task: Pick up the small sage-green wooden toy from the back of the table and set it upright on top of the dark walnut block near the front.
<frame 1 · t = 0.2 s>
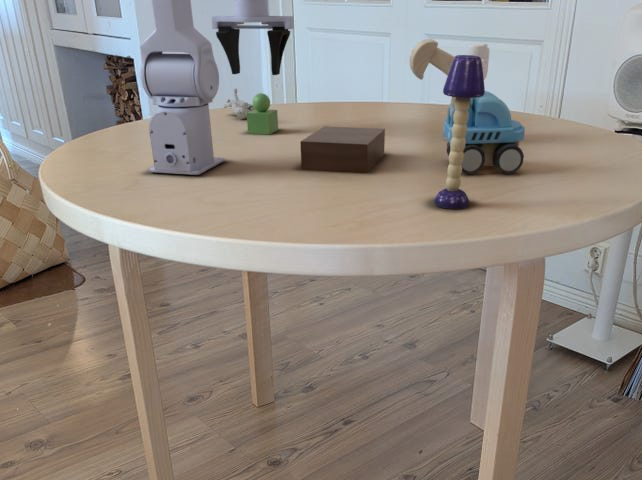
hand: (255, 74, 118), 10 cm above the table, tool pointing down, fingers open, 7 cm apart
grey lumpy piece: (243, 119, 135), on the table
green toy: (263, 131, 123), on the table
figurine: (470, 139, 116), on the table
walnut block: (344, 161, 101), on the table
toy excavator: (462, 169, 97), on the table
toy lamp: (453, 206, 81), on the table
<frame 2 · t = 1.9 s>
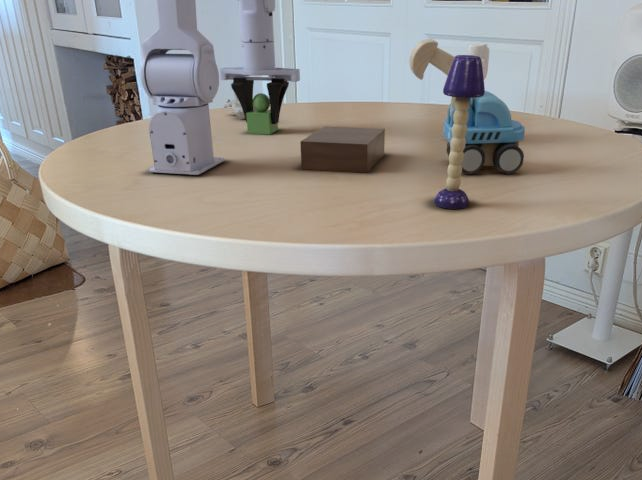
hand: (262, 122, 122), 2 cm above the table, tool pointing down, fingers closed on green toy, 4 cm apart
green toy: (263, 131, 123), on the table, touching gripper
everything else where it was.
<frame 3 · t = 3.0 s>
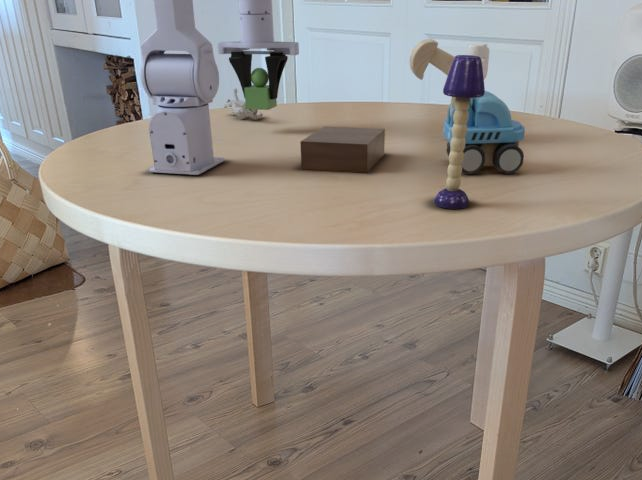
hand: (261, 98, 120), 6 cm above the table, tool pointing down, fingers closed on green toy, 4 cm apart
green toy: (261, 107, 121), point 4 cm above the table, touching gripper
everything else where it was.
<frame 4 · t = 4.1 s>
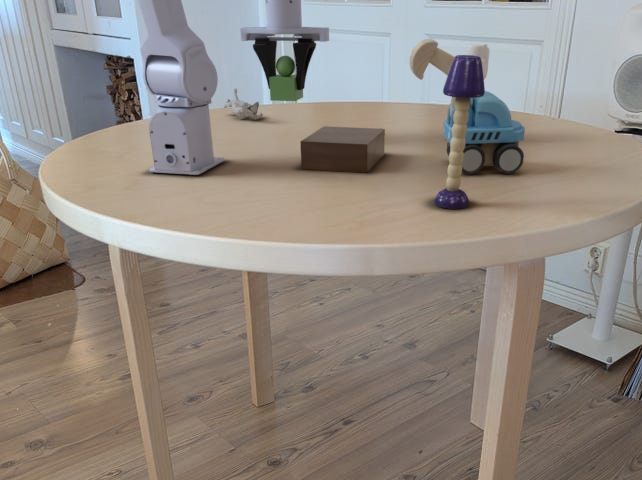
hand: (286, 88, 111), 9 cm above the table, tool pointing down, fingers closed on green toy, 4 cm apart
green toy: (287, 99, 112), point 7 cm above the table, touching gripper
everything else where it was.
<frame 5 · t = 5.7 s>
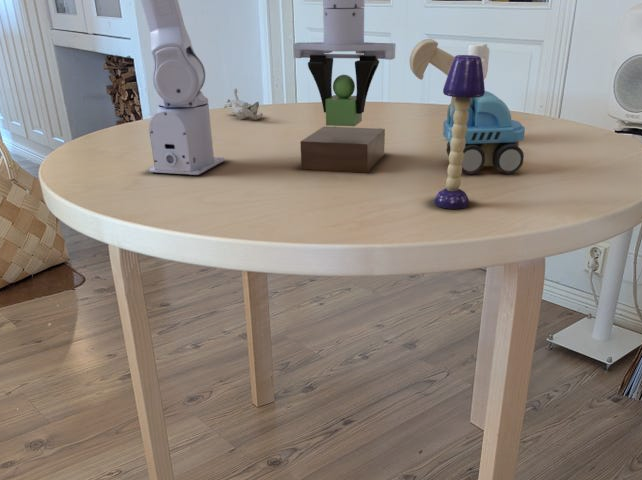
hand: (344, 112, 98), 7 cm above the table, tool pointing down, fingers closed on green toy, 4 cm apart
green toy: (344, 123, 99), point 6 cm above the table, touching gripper
everything else where it was.
when the fingers open (6 cm above the table, at t = 6.7 s): green toy stays where it is, resting on walnut block.
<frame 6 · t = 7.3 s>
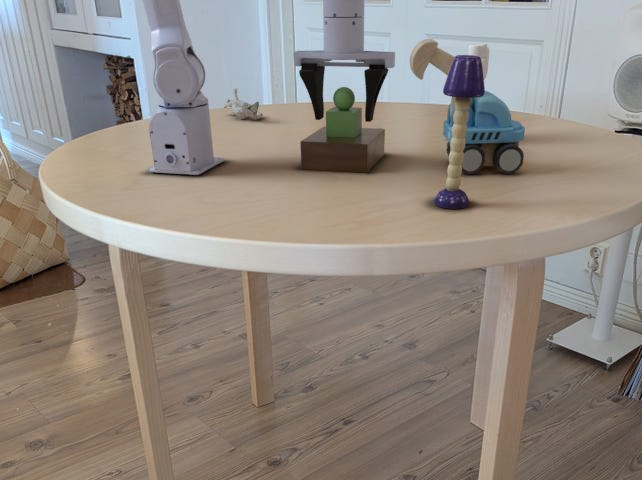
hand: (344, 119, 98), 6 cm above the table, tool pointing down, fingers open, 7 cm apart
green toy: (344, 134, 100), point 4 cm above the table, touching walnut block
everything else where it was.
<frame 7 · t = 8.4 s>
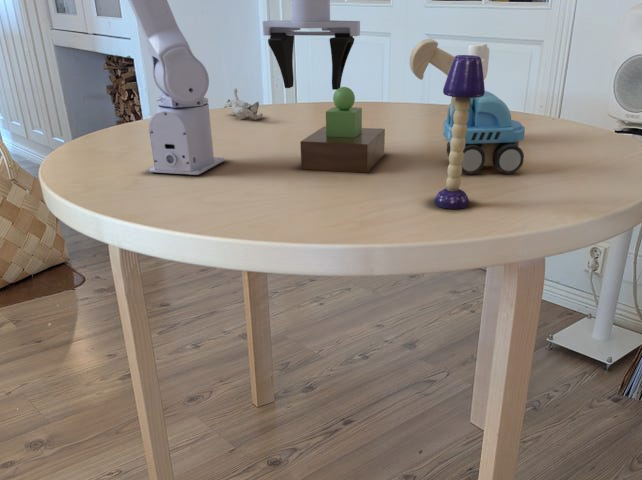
hand: (312, 88, 102), 10 cm above the table, tool pointing down, fingers open, 7 cm apart
nothing on the table moved.
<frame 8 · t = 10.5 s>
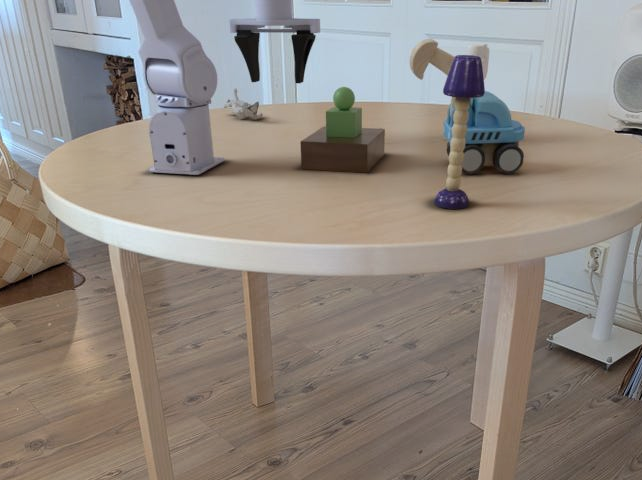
hand: (277, 82, 108), 10 cm above the table, tool pointing down, fingers open, 7 cm apart
nothing on the table moved.
at the end: green toy inside the target area on the walnut block (0.1 cm from its centre), point 4.0 cm above the walnut block's base; green toy tilted 0°; the gripper is holding nothing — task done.
